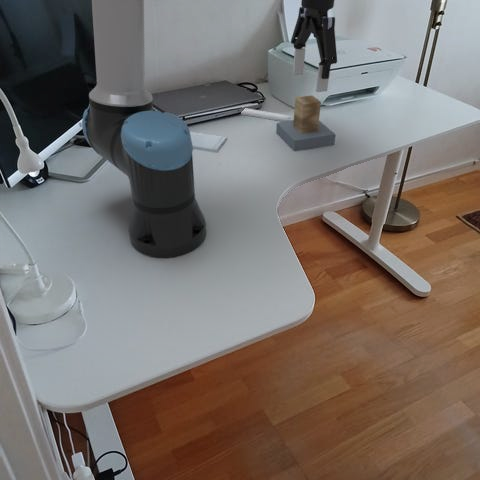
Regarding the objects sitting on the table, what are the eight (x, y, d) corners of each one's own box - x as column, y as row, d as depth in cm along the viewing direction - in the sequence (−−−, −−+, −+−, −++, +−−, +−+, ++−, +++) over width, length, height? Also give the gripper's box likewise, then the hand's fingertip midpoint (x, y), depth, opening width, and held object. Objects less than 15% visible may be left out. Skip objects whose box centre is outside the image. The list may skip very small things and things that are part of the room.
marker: (294, 122, 135) (295, 114, 133) (292, 124, 133) (293, 117, 132) (240, 112, 140) (240, 105, 139) (237, 115, 139) (237, 107, 138)
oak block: (301, 133, 121) (303, 104, 116) (293, 126, 124) (295, 97, 120) (317, 130, 122) (321, 101, 117) (309, 123, 126) (312, 95, 121)
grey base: (293, 151, 119) (294, 140, 117) (276, 132, 128) (276, 122, 126) (334, 144, 122) (335, 134, 120) (314, 127, 131) (315, 117, 129)
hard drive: (173, 142, 121) (217, 148, 118) (185, 130, 127) (227, 136, 124) (174, 148, 122) (217, 154, 119) (186, 135, 128) (227, 141, 125)
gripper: (362, -3, 94) (346, 97, 107) (309, -20, 113) (301, 67, 126) (330, -2, 92) (318, 100, 105) (282, -19, 111) (276, 69, 124)
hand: (309, 82), depth 115 cm, fingers open, 13 cm apart
